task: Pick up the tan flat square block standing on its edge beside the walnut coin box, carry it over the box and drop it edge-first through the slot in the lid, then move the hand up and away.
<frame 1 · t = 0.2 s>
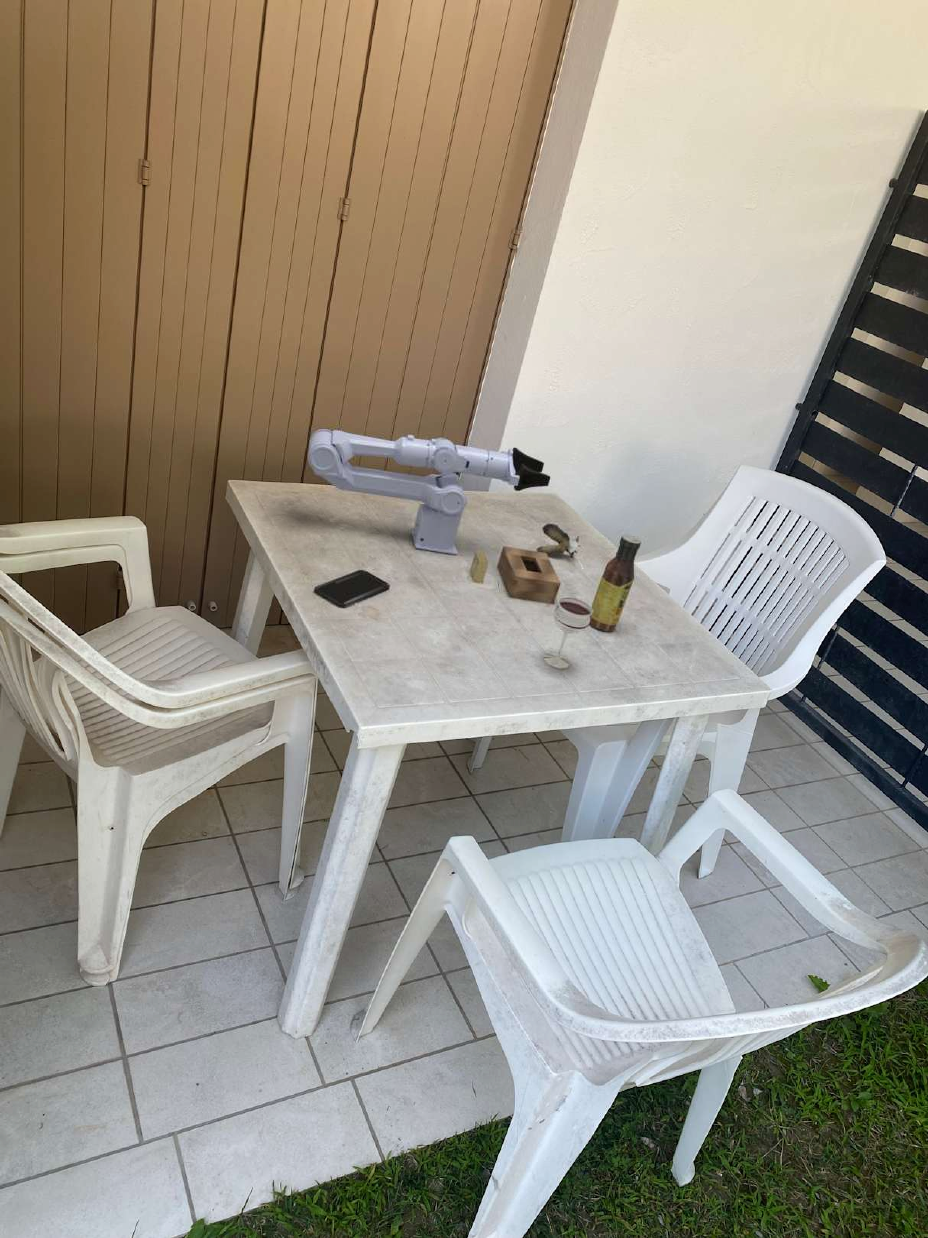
hand: (545, 474, 201), 21 cm above the table, tool horizontal, fingers open, 7 cm apart
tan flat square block: (476, 577, 198), on the table
coin box: (524, 584, 201), on the table
wineglass: (556, 661, 175), on the table
phone: (351, 592, 180), on the table
sauce bottle: (600, 625, 193), on the table
eagle figurine: (555, 554, 220), on the table
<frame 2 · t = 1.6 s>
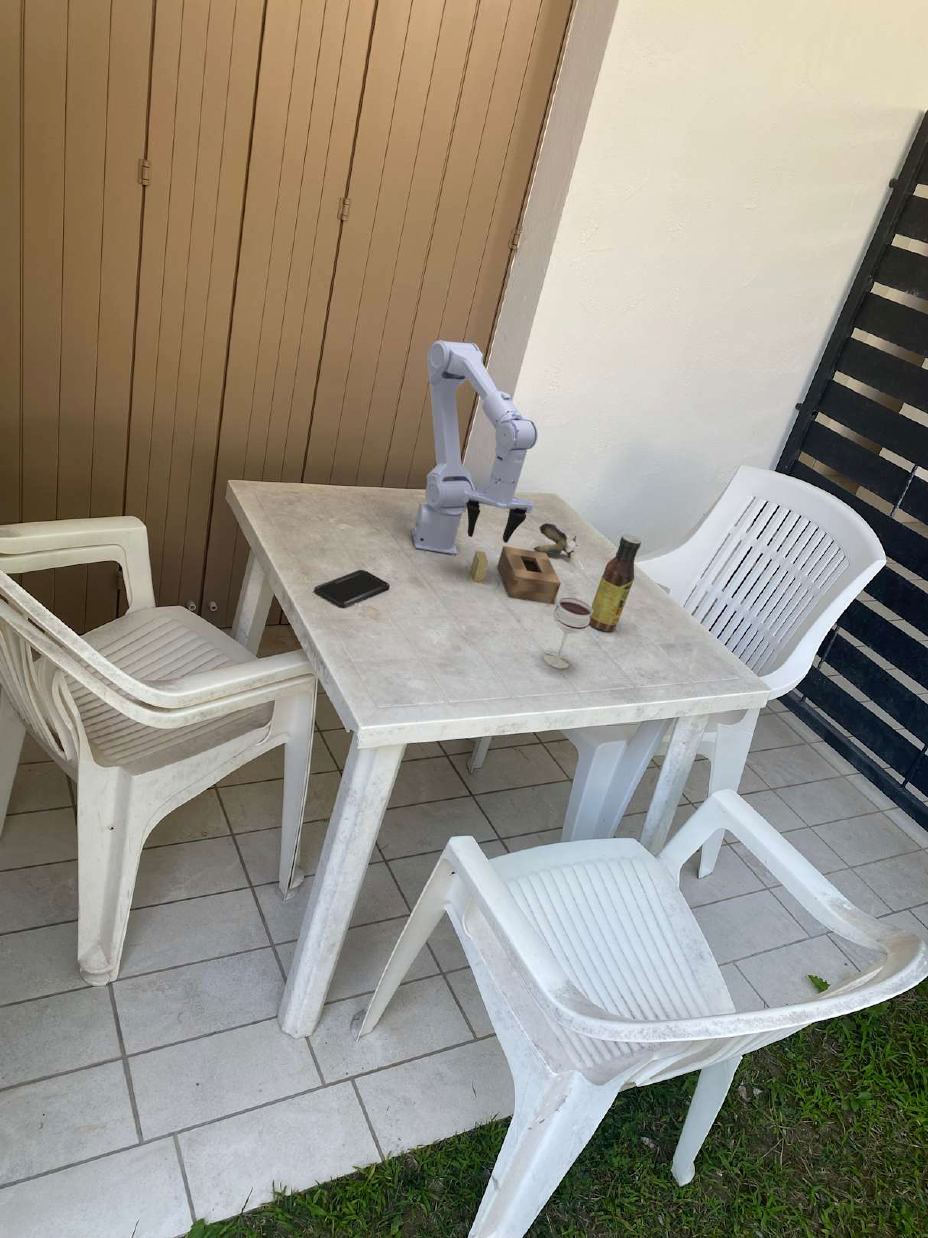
hand: (487, 537, 194), 9 cm above the table, tool pointing down, fingers open, 7 cm apart
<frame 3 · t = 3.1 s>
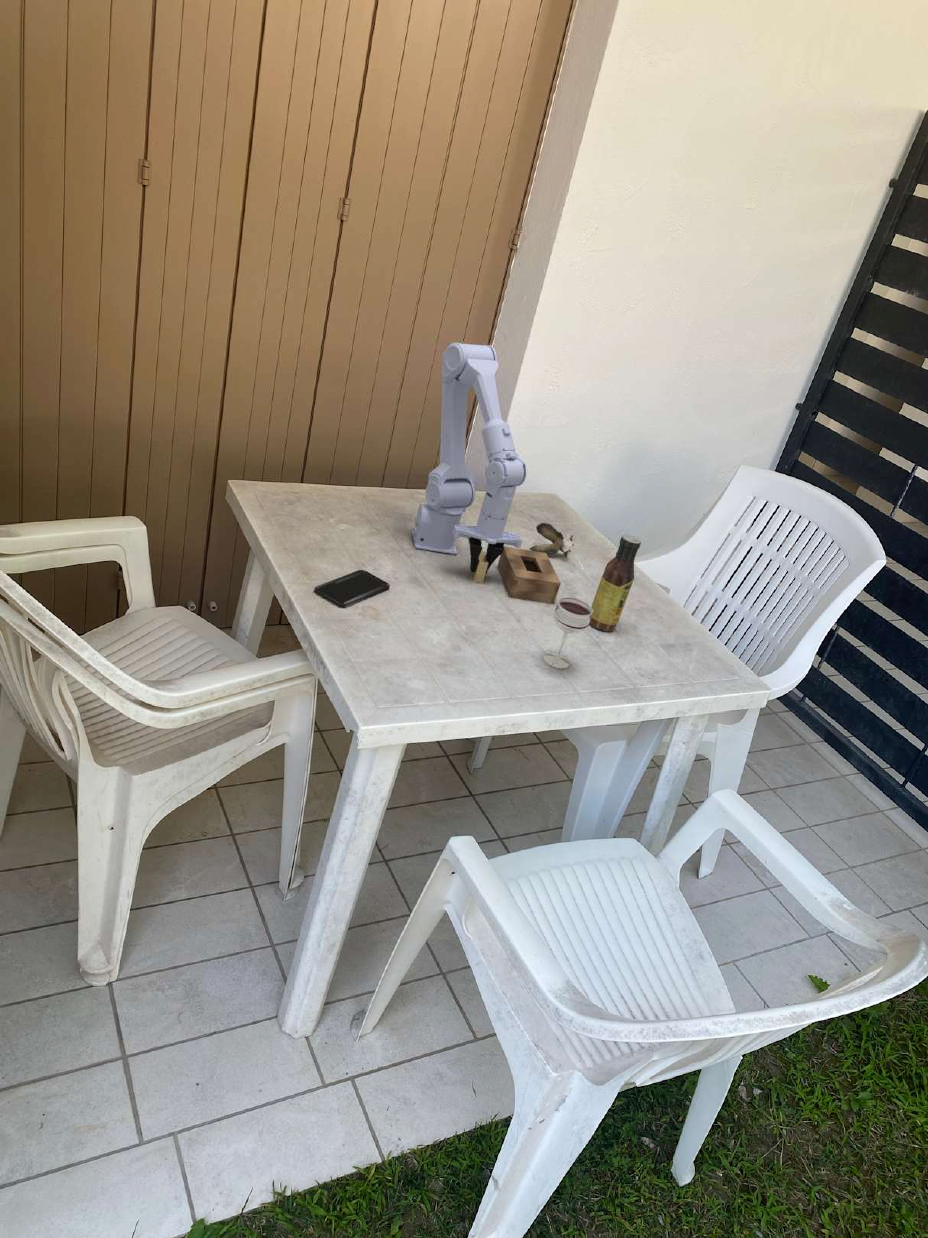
hand: (477, 571, 197), 1 cm above the table, tool pointing down, fingers closed on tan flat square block, 2 cm apart
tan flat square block: (476, 577, 198), on the table, touching gripper
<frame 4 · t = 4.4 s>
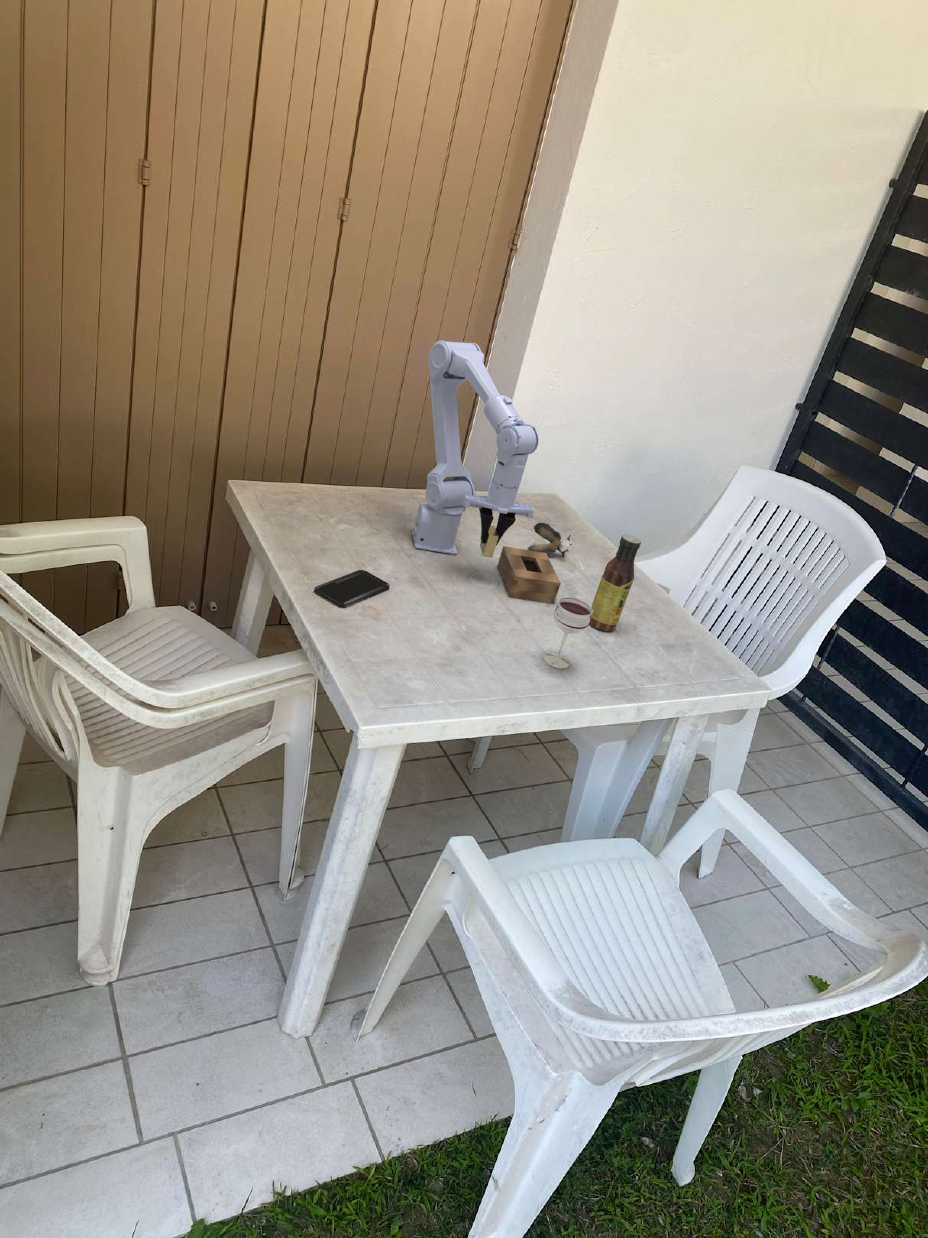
hand: (488, 542, 194), 8 cm above the table, tool pointing down, fingers closed on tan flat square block
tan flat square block: (486, 551, 195), point 6 cm above the table, touching gripper
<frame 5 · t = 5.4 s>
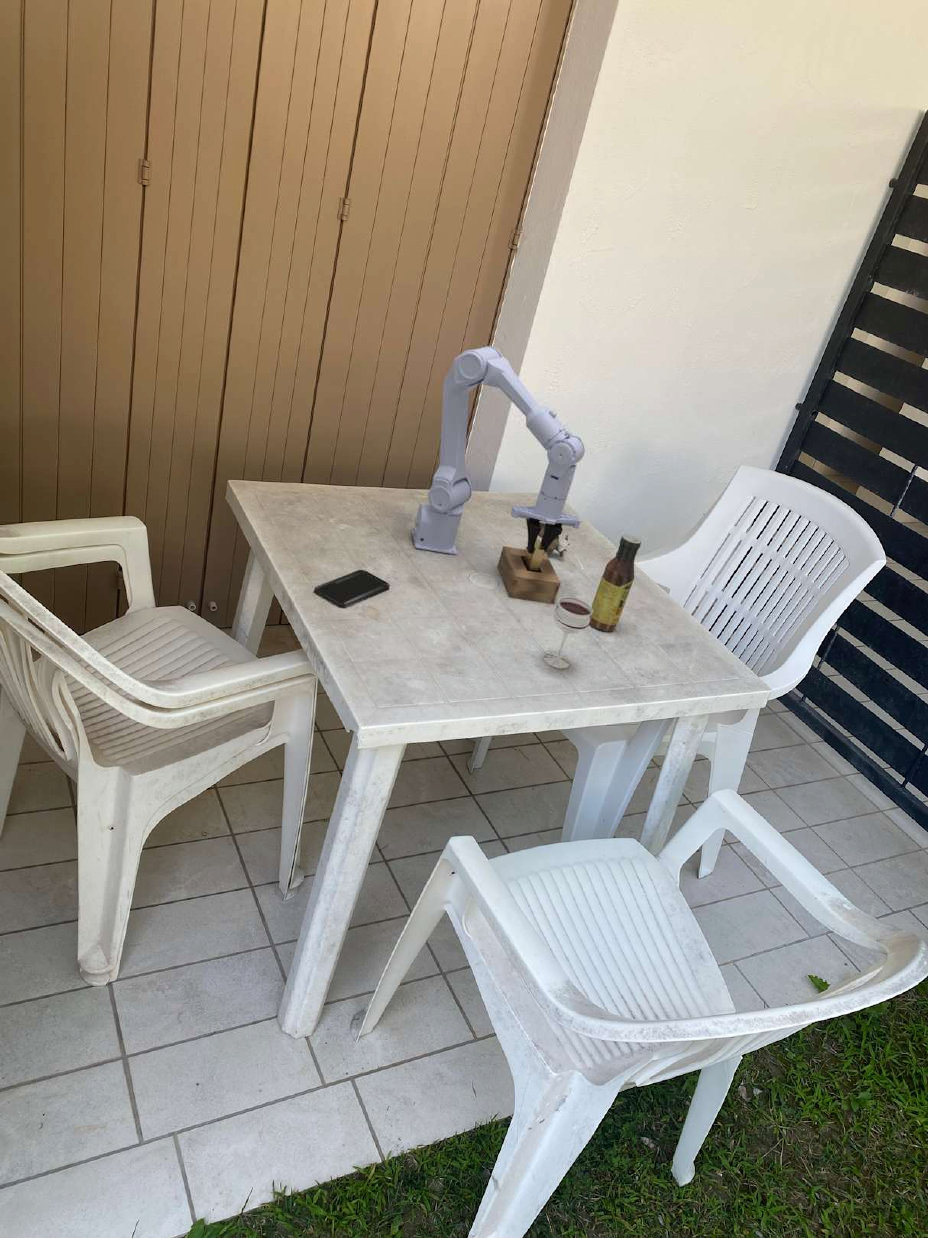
hand: (535, 552, 197), 8 cm above the table, tool pointing down, fingers closed on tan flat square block
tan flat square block: (531, 565, 198), point 5 cm above the table, touching gripper
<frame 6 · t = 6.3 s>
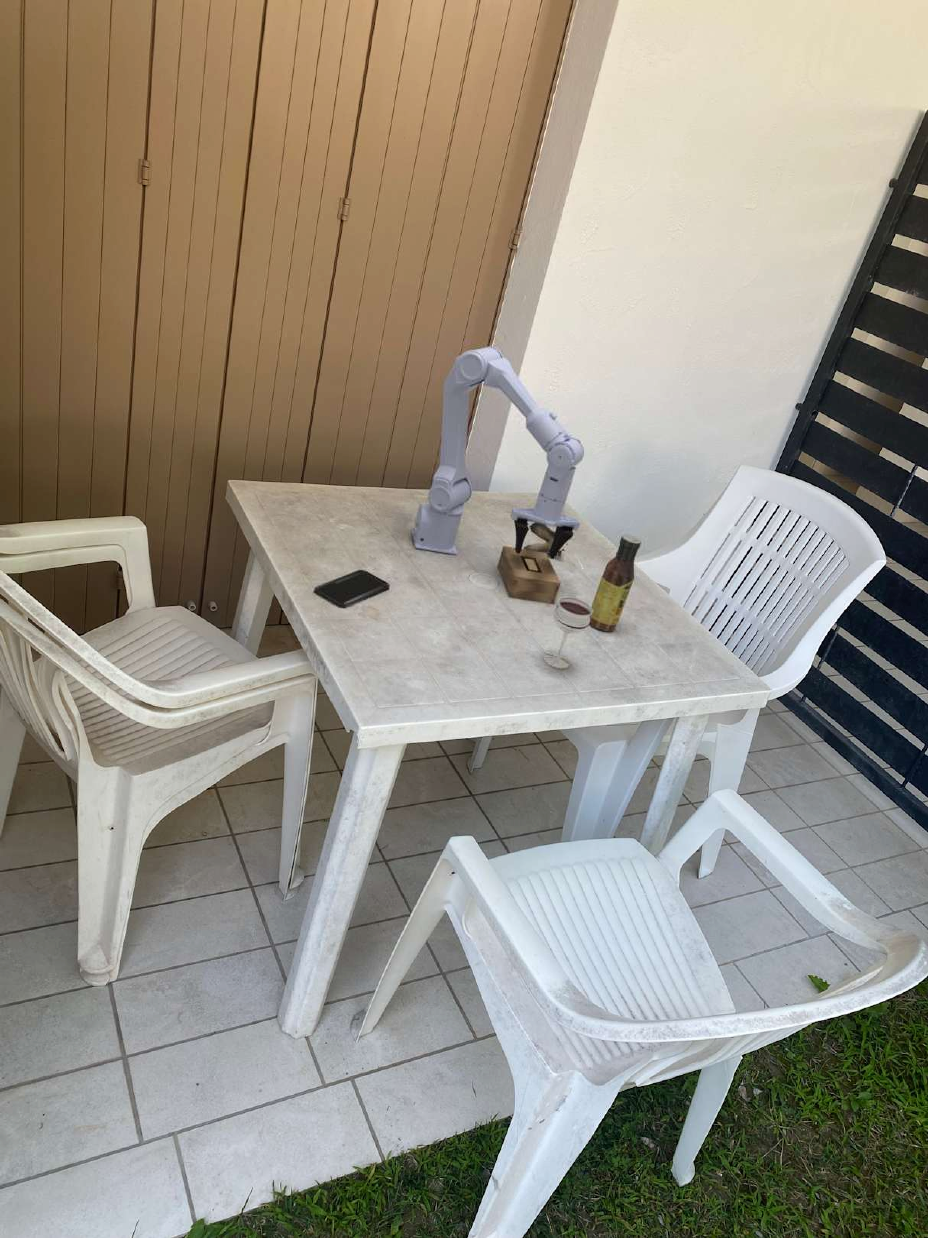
hand: (534, 554, 197), 7 cm above the table, tool pointing down, fingers open, 7 cm apart
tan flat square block: (525, 584, 201), resting in coin box
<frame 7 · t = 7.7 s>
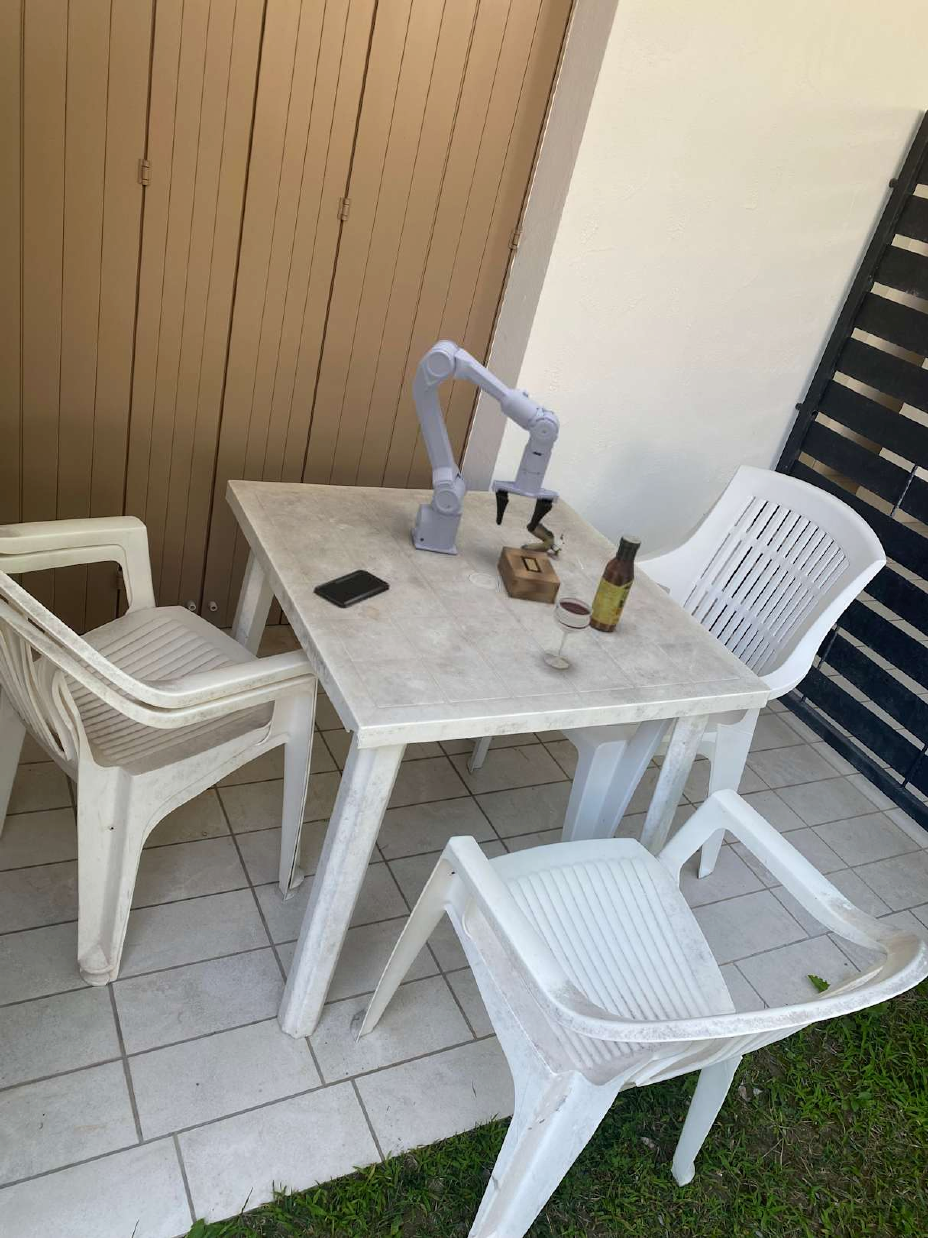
hand: (514, 526, 203), 9 cm above the table, tool pointing down, fingers open, 7 cm apart
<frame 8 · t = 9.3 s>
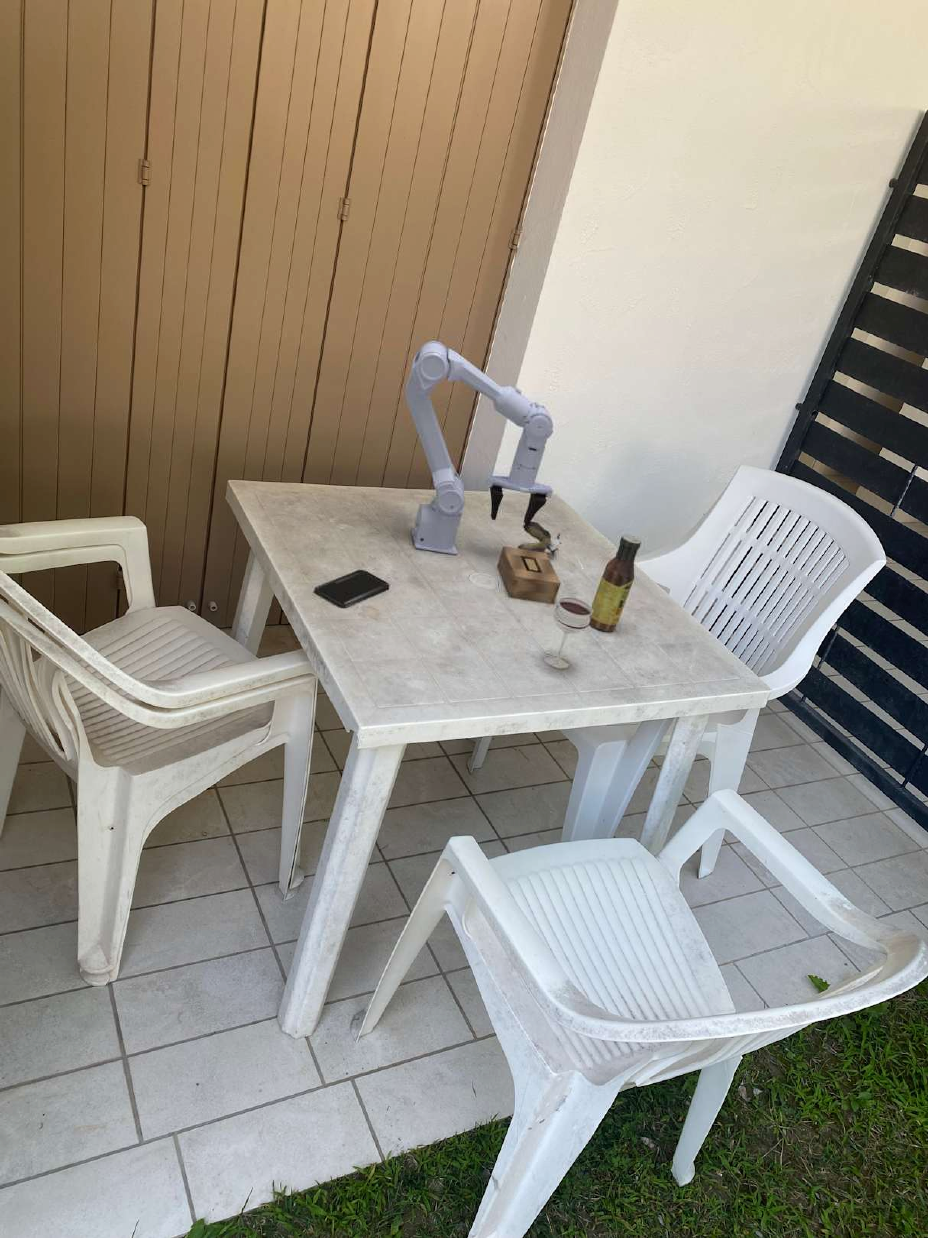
hand: (509, 520, 205), 9 cm above the table, tool pointing down, fingers open, 7 cm apart
at the end: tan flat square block inside the target area on the coin box (0.1 cm from its centre), point 0.0 cm above the coin box's base; the gripper is holding nothing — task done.
